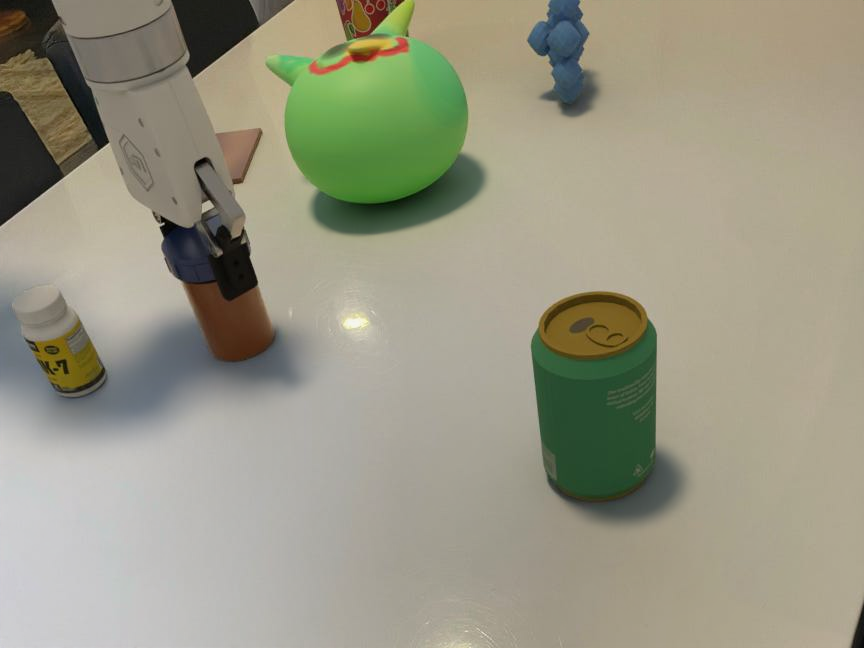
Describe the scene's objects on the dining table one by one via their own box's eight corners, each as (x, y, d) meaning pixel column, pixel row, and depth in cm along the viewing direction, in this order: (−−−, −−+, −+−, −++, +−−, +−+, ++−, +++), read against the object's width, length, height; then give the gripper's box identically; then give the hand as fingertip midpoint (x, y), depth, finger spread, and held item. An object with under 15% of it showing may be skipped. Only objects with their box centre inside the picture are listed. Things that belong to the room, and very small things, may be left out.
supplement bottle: (44, 395, 85) (-6, 311, 78) (76, 362, 87) (30, 278, 81) (87, 402, 83) (39, 317, 77) (118, 369, 86) (75, 284, 79)
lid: (225, 285, 77) (216, 262, 75) (154, 279, 79) (145, 256, 77) (265, 239, 80) (258, 216, 79) (197, 234, 83) (188, 212, 81)
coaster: (138, 194, 107) (136, 190, 106) (165, 143, 114) (163, 139, 114) (242, 182, 105) (241, 178, 105) (262, 132, 112) (260, 127, 112)
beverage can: (596, 416, 73) (589, 272, 64) (678, 461, 69) (684, 313, 59) (521, 472, 70) (502, 330, 61) (602, 522, 66) (595, 378, 57)
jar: (202, 364, 84) (162, 269, 77) (217, 324, 88) (179, 230, 81) (268, 358, 84) (233, 262, 77) (280, 318, 87) (247, 223, 80)
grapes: (534, 75, 112) (524, -45, 103) (592, 69, 111) (588, -53, 102) (528, 121, 105) (517, -4, 96) (591, 115, 104) (586, -12, 95)
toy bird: (325, 251, 94) (281, 91, 82) (290, 178, 104) (247, 28, 93) (498, 198, 95) (478, 34, 84) (447, 132, 106) (423, -21, 95)
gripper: (29, 41, 70) (130, 265, 84) (144, 95, 61) (236, 336, 75) (117, 4, 73) (201, 227, 87) (240, 50, 64) (312, 291, 78)
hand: (216, 276), depth 81 cm, fingers closed on lid, 6 cm apart
